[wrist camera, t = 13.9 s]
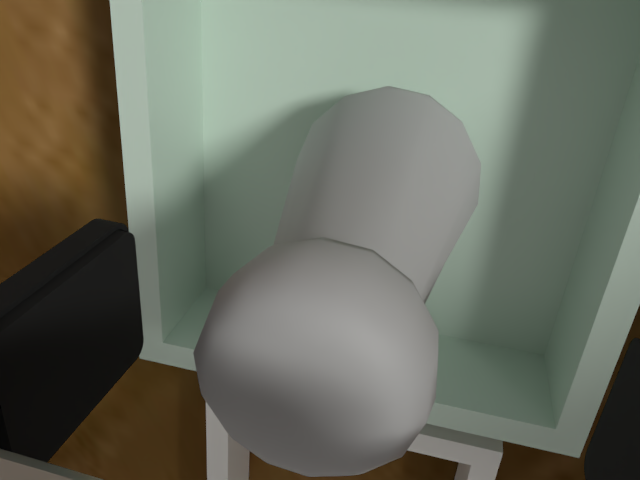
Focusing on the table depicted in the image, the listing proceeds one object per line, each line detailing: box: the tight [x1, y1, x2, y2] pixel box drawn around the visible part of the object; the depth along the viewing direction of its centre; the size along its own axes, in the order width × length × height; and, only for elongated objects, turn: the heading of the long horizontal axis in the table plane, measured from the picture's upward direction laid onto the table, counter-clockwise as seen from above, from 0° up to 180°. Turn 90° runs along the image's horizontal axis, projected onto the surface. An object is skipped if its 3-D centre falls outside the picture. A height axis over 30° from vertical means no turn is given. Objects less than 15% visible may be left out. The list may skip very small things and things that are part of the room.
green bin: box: [110, 0, 640, 458], centre depth 19 cm, size 16×16×4 cm
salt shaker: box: [193, 86, 481, 477], centre depth 15 cm, size 6×6×13 cm
